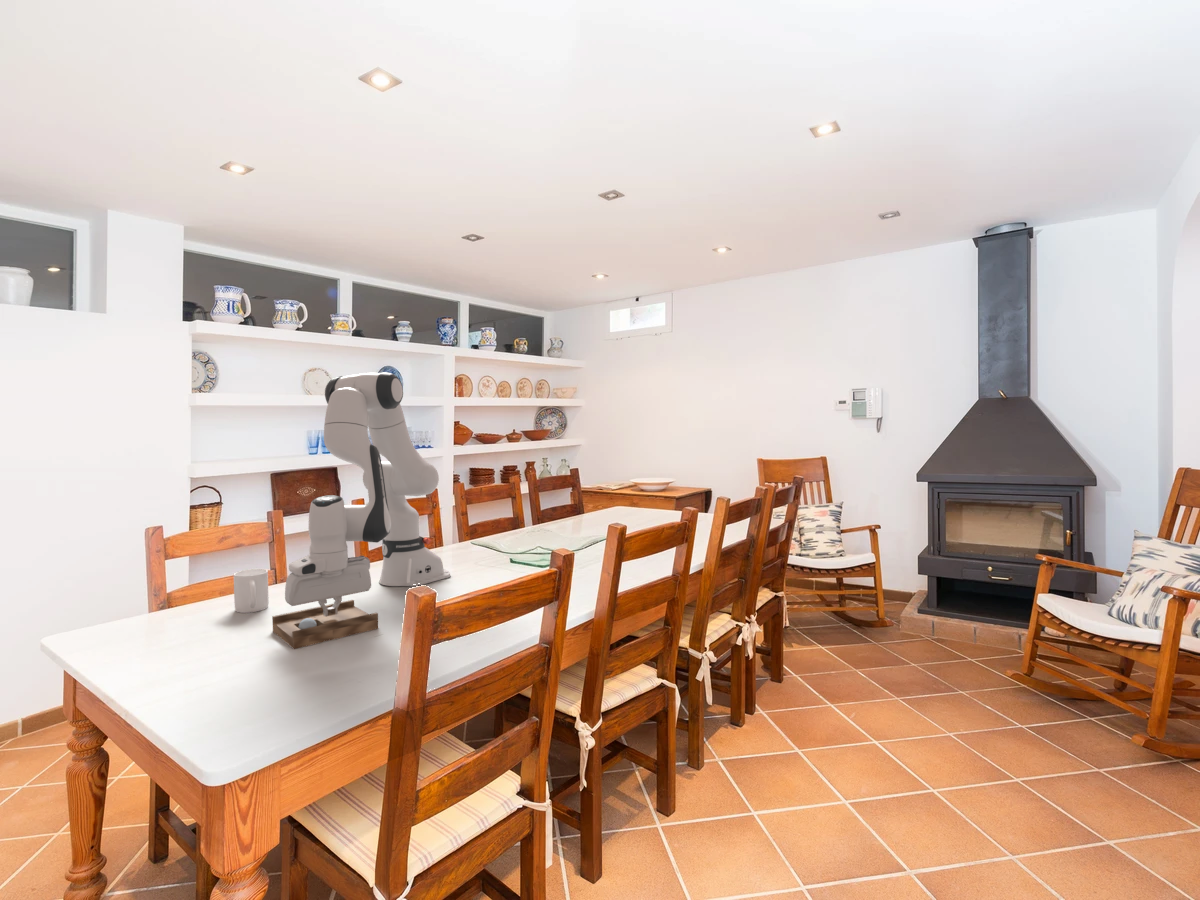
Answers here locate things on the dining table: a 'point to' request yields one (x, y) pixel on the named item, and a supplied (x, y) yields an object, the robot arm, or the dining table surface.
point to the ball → (307, 623)
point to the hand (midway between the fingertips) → (330, 615)
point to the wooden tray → (323, 624)
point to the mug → (251, 590)
